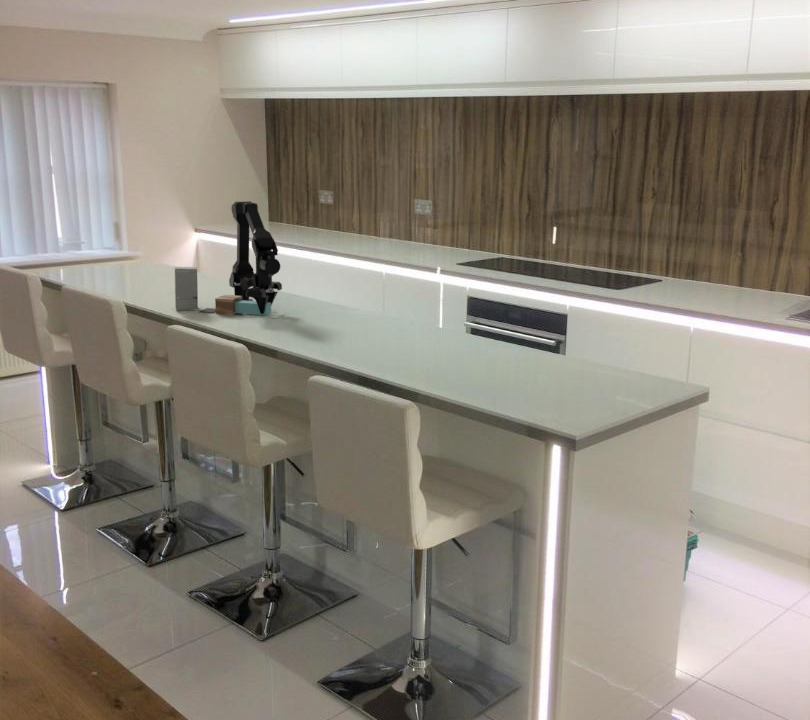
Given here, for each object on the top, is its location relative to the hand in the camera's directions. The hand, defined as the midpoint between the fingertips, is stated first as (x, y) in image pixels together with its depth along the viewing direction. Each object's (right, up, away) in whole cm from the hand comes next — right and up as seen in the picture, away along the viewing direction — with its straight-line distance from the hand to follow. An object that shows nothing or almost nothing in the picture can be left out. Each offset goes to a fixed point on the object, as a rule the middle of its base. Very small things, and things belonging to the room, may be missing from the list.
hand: (264, 312), depth 329 cm
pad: (0, -1, 0) cm, 1 cm away
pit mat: (-21, +1, +6) cm, 22 cm away
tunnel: (-14, 0, +4) cm, 14 cm away
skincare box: (-31, +2, +10) cm, 32 cm away
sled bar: (-5, -1, +2) cm, 6 cm away
